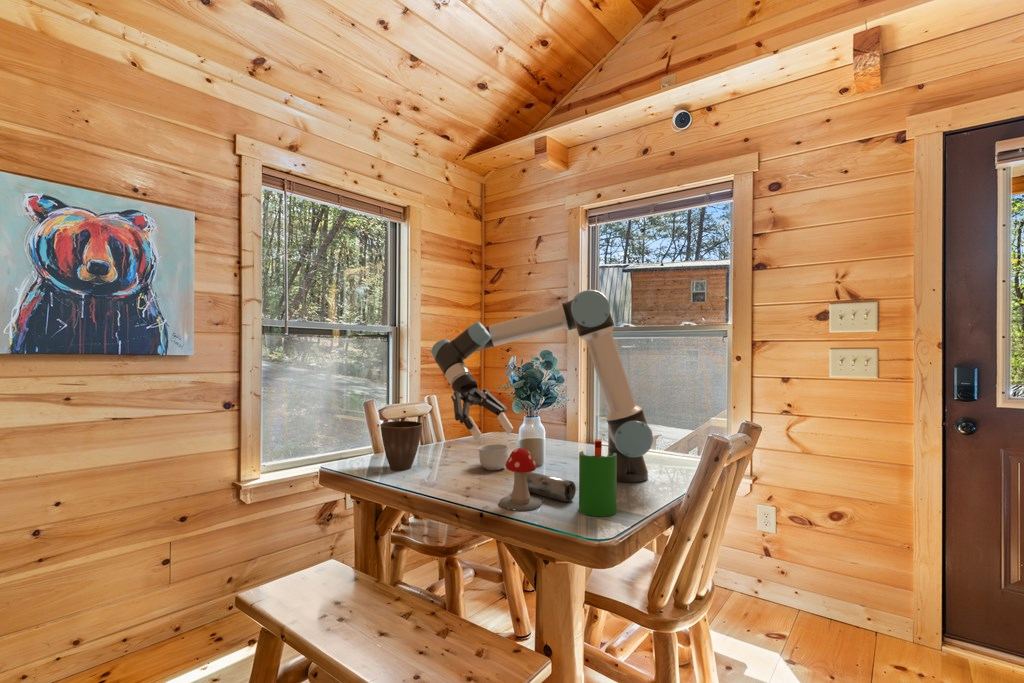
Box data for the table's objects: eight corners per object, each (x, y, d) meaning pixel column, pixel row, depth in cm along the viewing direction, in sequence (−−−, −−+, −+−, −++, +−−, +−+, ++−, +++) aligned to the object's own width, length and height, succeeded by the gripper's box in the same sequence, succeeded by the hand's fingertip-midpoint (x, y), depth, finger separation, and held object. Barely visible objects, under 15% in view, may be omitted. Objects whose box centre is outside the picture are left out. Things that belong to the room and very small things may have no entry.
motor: (612, 506, 147) (613, 435, 147) (620, 516, 138) (620, 441, 138) (576, 506, 146) (577, 435, 146) (582, 516, 137) (582, 441, 137)
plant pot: (425, 463, 196) (425, 420, 196) (418, 473, 181) (418, 427, 181) (385, 463, 196) (385, 420, 196) (375, 473, 181) (375, 427, 181)
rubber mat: (519, 495, 156) (519, 492, 156) (550, 503, 148) (550, 501, 148) (490, 504, 147) (490, 501, 147) (522, 513, 139) (522, 510, 139)
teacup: (510, 471, 185) (510, 449, 185) (480, 472, 183) (480, 449, 183) (504, 462, 198) (504, 441, 198) (476, 463, 197) (476, 442, 197)
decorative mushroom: (500, 497, 151) (501, 445, 151) (528, 494, 154) (529, 444, 154) (511, 507, 142) (512, 452, 142) (541, 504, 145) (541, 450, 145)
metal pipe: (528, 487, 164) (528, 468, 164) (576, 500, 152) (576, 479, 152) (515, 491, 160) (515, 472, 160) (563, 504, 147) (564, 483, 147)
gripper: (483, 386, 176) (516, 436, 166) (424, 391, 158) (457, 447, 147) (495, 371, 172) (529, 421, 162) (436, 374, 154) (470, 431, 144)
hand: (495, 434), depth 155 cm, fingers open, 13 cm apart
